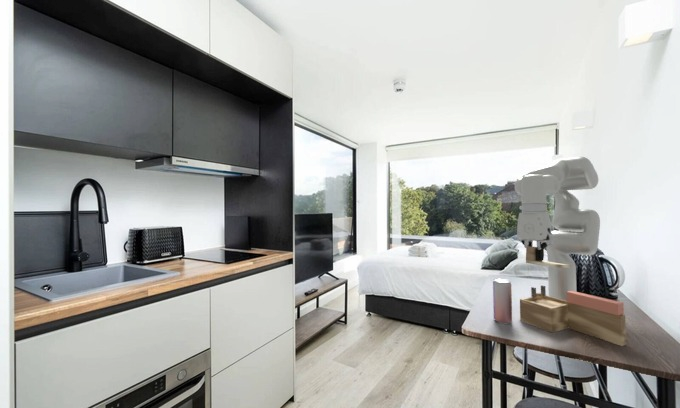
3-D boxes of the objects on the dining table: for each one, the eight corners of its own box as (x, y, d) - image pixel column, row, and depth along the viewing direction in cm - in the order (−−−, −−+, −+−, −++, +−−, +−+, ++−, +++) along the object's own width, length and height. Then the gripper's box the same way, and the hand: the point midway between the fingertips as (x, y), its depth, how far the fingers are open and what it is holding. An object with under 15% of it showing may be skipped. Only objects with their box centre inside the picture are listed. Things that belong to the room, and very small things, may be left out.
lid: (545, 263, 108) (546, 247, 108) (570, 268, 100) (571, 250, 100) (525, 262, 104) (526, 246, 104) (550, 267, 96) (551, 249, 96)
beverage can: (490, 318, 109) (489, 278, 110) (505, 317, 110) (504, 278, 110) (500, 324, 103) (499, 282, 104) (516, 323, 104) (515, 282, 104)
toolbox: (542, 314, 112) (542, 285, 112) (629, 343, 88) (628, 305, 88) (519, 320, 107) (519, 289, 107) (605, 352, 83) (604, 312, 83)
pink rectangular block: (572, 300, 101) (571, 290, 101) (623, 314, 88) (623, 302, 88) (566, 301, 100) (566, 291, 100) (618, 315, 87) (618, 304, 87)
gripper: (506, 209, 110) (507, 257, 110) (550, 208, 95) (551, 264, 95) (520, 208, 113) (520, 255, 113) (564, 208, 98) (566, 262, 98)
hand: (535, 259), depth 104 cm, fingers closed on lid, 2 cm apart
